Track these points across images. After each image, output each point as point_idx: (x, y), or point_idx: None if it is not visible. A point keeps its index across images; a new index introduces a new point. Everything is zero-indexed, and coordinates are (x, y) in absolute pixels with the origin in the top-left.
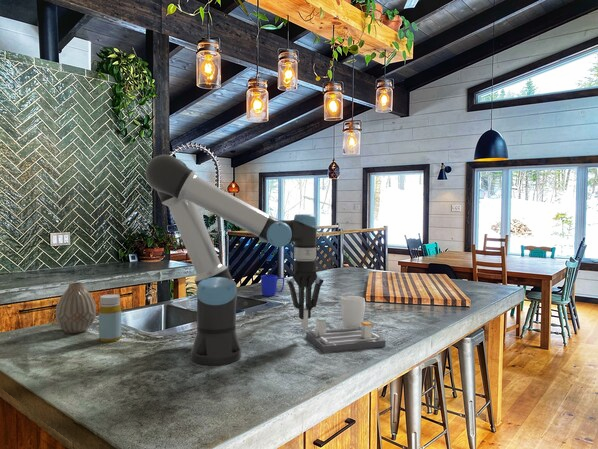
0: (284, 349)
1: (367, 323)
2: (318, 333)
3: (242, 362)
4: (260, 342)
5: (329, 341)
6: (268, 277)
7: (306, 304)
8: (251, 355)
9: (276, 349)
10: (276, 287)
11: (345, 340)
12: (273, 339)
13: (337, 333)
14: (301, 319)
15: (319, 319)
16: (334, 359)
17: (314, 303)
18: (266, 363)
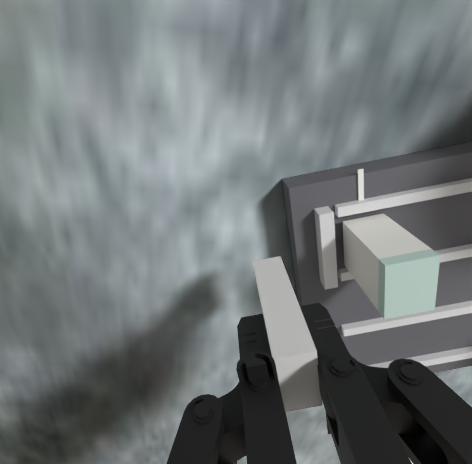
0: (155, 340)
1: None
2: (344, 256)
3: (12, 439)
4: (26, 251)
5: (358, 346)
6: None
7: (336, 402)
8: (27, 391)
9: (120, 339)
10: None
11: (433, 338)
12: (91, 207)
13: (446, 260)
14: (259, 292)
15: (390, 307)
16: (322, 421)
17: (419, 450)
18: (97, 444)
